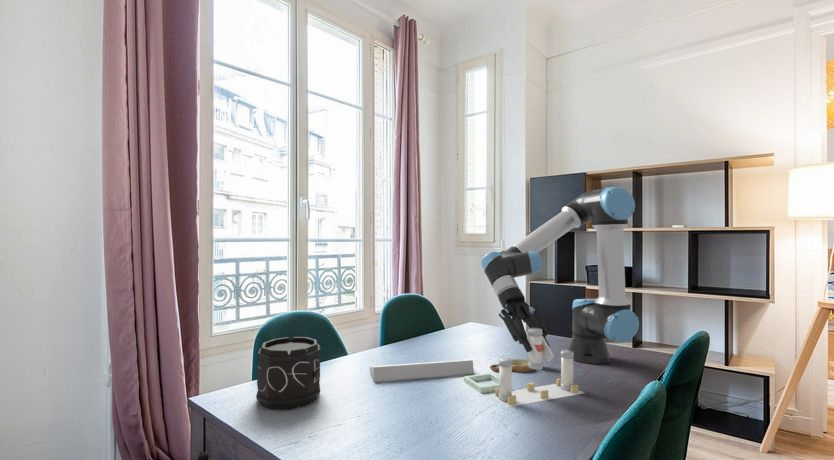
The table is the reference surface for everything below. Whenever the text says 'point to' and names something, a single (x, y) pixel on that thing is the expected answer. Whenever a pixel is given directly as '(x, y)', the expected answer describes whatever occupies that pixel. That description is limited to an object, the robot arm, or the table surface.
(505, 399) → the cylinder
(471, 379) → the tray
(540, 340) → the marked fuse
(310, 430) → the table surface
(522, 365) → the oil lamp
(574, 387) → the fuse block
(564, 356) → the fuse
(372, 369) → the decorative molding
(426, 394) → the table surface
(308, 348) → the coffee canister
